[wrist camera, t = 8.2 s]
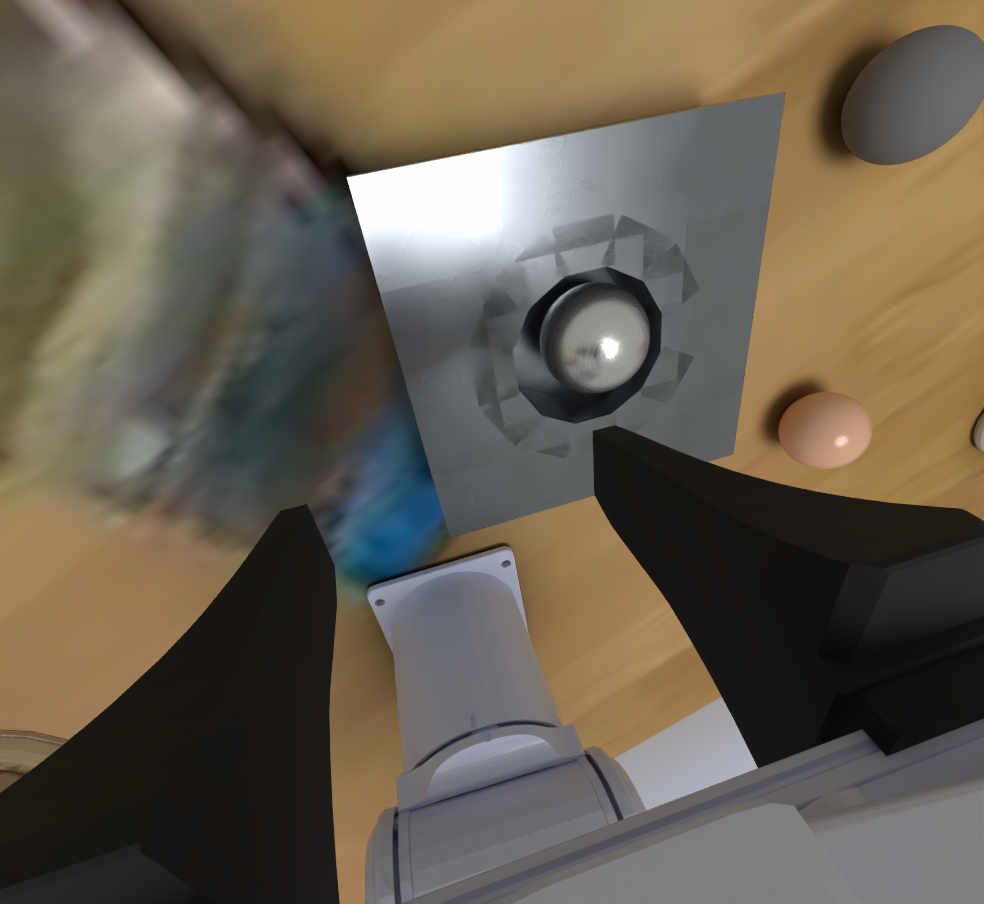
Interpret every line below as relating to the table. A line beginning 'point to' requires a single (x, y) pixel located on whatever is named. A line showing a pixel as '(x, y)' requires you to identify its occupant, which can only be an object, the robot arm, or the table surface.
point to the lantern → (23, 753)
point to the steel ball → (594, 337)
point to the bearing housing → (558, 268)
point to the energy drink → (979, 433)
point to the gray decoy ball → (914, 95)
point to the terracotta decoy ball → (825, 430)
